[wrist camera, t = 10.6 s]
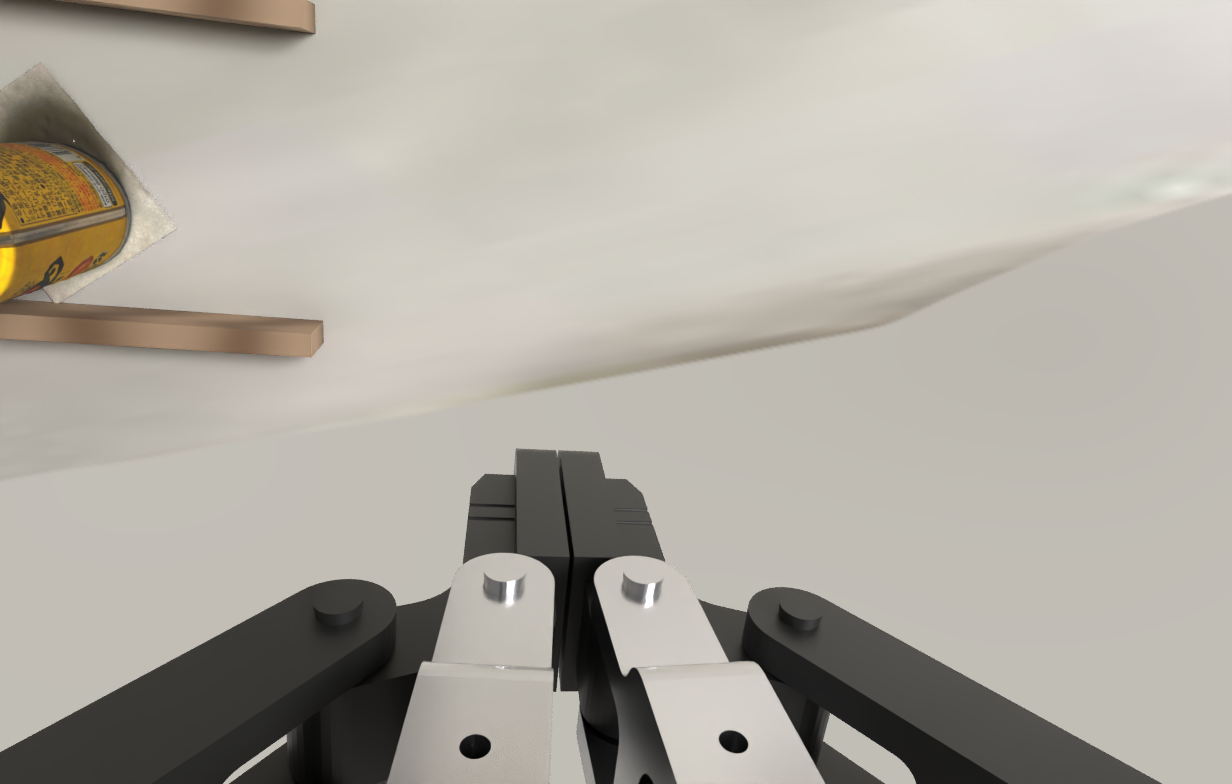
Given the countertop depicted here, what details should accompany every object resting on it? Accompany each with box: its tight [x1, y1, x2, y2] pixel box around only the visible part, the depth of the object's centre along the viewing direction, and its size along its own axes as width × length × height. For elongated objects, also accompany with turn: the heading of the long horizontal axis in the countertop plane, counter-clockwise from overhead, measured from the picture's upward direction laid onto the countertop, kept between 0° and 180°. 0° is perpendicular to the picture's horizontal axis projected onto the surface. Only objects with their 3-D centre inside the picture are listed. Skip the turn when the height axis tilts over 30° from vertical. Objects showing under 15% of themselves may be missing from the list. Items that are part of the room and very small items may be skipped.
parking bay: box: [0, 0, 324, 357], centre depth 33 cm, size 20×16×4 cm
